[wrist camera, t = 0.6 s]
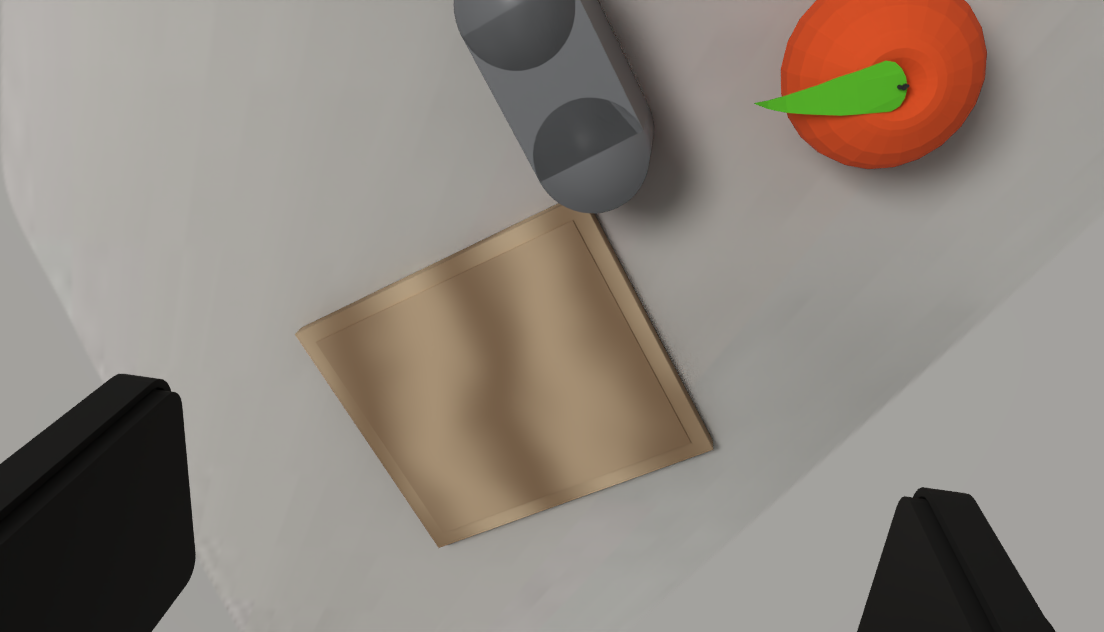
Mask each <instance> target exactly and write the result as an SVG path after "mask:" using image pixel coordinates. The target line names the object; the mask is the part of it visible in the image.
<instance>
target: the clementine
mask: <svg viewBox="0 0 1104 632" xmlns="http://www.w3.org/2000/svg"><path fill="white" fill-rule="evenodd" d="M986 57H987V51H986V46H985V41H984V36H983V31H982V27H981V25H980V23H979V22H978V20H977V18H976V16H975V14H974V12H973V11H972V9H971V7H970V5H969V4H968V3H967V2H966V1H965V0H816V1H815V2H814V4H813V5H812V6H811V7H810V8H809V9H808V10H807V11H806V13H805V14H804V15H803V16H802V17H801V18H800V20H799V21H798V23H797V25H796V27H795V29H794V31H793V33H792V35H791V37H790V38H789V40H788V43H787V47H786V51H785V55H784V59H783V63H782V67H781V95H782V97H779V98H775V99H772V100H769V101H763V102H758V103H754V104H757V105H759V106H762V107H764V108H767V109H770V110H775V111H781V112H786V113H787V115H788V118H789V119H790V121H791V122H792V124H793V126H794V127H795V129H796V130H797V132H798V134H799V135H800V137H801V138H803V139H804V140H805V141H806V142H807V143H808V144H809V145H811V146H812V147H813V148H814V149H815V150H816V151H817V152H819V153H821V154H823V155H825V156H827V157H829V158H831V159H834V160H836V161H838V162H840V163H842V164H844V165H849V166H854V167H860V168H866V169H876V168H888V167H896V166H899V165H902V164H905V163H908V162H911V161H914V160H917V159H920V158H921V157H923V156H925V155H926V154H928V153H930V152H931V151H933V150H935V149H936V148H938V147H940V146H941V145H942V144H943V143H944V142H945V141H947V140H948V139H949V138H950V137H951V136H952V135H953V134H954V133H955V132H956V131H957V130H958V129H959V128H960V127H961V126H962V124H963V123H964V121H965V120H966V118H967V117H968V115H969V114H970V112H971V111H972V109H973V108H974V106H975V104H976V102H977V99H978V96H979V94H980V91H981V88H982V85H983V82H984V79H985V69H986Z"/></svg>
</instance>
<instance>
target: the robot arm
mask: <svg viewBox="0 0 1104 632" xmlns="http://www.w3.org/2000/svg"><path fill="white" fill-rule="evenodd" d="M194 565H195V543H194V532H193V521H192V509H191V498H190V487H189V476H188V465H187V454H186V443H185V432H184V420H183V409H182V402H181V398H180V396H179V394H177V393H176V392H171V389H170V387H169V385H168V383H167V382H166V381H164V380H163V379H156V378H149V377H142V376H135V375H128V374H117V375H116V376H114V377H112V378H111V379H109V380H108V381H107V382H106V383H104V384H103V385H102V386H100V387H99V388H98V389H97V390H95V391H94V392H93V393H91V394H90V395H89V396H87V397H86V398H85V399H84V400H82V401H81V402H80V403H78V404H77V405H76V406H75V407H73V408H72V409H71V410H69V411H68V412H67V413H66V414H64V415H63V416H62V417H60V418H59V419H58V420H56V421H55V422H54V423H53V424H51V425H50V426H49V427H47V428H46V429H45V430H44V431H42V432H41V433H40V434H39V435H37V436H36V437H35V438H33V439H32V440H31V441H29V442H28V443H27V444H26V445H24V446H23V447H22V448H21V449H19V450H18V451H17V452H15V453H14V454H13V455H11V456H10V457H9V458H7V459H6V460H5V461H4V462H2V463H1V464H0V632H152V630H153V629H154V628H155V626H156V625H157V624H158V622H159V621H160V620H161V618H162V617H163V616H164V614H165V613H166V612H167V610H168V609H169V608H170V606H171V605H172V604H173V602H174V601H175V599H176V598H177V597H178V596H179V594H180V593H181V591H182V590H183V589H184V587H185V586H186V585H187V583H188V581H189V580H190V577H191V575H192V572H193V569H194ZM857 632H1055V630H1054V629H1053V627H1052V625H1051V624H1050V623H1049V622H1048V620H1047V619H1046V618H1045V617H1044V615H1043V613H1042V612H1041V610H1040V608H1039V607H1038V605H1037V603H1036V602H1035V600H1034V598H1033V597H1032V595H1031V593H1030V592H1029V590H1028V588H1027V586H1026V585H1025V583H1024V582H1023V580H1022V578H1021V577H1020V575H1019V573H1018V571H1017V570H1016V568H1015V566H1014V565H1013V563H1012V562H1011V560H1010V558H1009V556H1008V555H1007V553H1006V551H1005V550H1004V548H1003V546H1002V545H1001V543H1000V541H999V540H998V538H997V536H996V535H995V533H994V531H993V530H992V528H991V526H990V525H989V523H988V521H987V519H986V518H985V516H984V515H983V513H982V511H981V509H980V508H979V506H978V504H977V503H976V501H975V500H974V498H973V497H972V496H971V495H969V494H966V493H959V492H952V491H945V490H938V489H931V488H924V487H922V488H920V489H918V490H917V491H916V493H915V494H914V496H913V498H911V497H902V498H901V499H900V501H899V503H898V505H897V507H896V510H895V514H894V517H893V520H892V523H891V526H890V529H889V533H888V536H887V539H886V542H885V546H884V548H883V552H882V555H881V558H880V561H879V564H878V567H877V571H876V574H875V577H874V580H873V583H872V586H871V590H870V593H869V596H868V599H867V602H866V605H865V608H864V612H863V615H862V618H861V621H860V624H859V628H858V631H857Z"/></svg>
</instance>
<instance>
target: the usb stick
mask: <svg viewBox="0 0 1104 632" xmlns="http://www.w3.org/2000/svg"><path fill="white" fill-rule="evenodd" d="M454 14H455V19H456V23H457V26H458V29H459V31H460V34H461V36H462V38H463V40H464V41H465V43H466V45H467V47H468V49H469V51H470V53H471V54H472V56H473V58H474V60H475V62H476V64H477V66H478V68H479V69H480V71H481V73H482V75H483V77H484V79H485V81H486V82H487V84H488V86H489V88H490V90H491V92H492V94H493V95H494V97H495V99H496V101H497V103H498V105H499V107H500V109H501V110H502V112H503V114H504V116H505V118H506V120H507V122H508V123H509V125H510V127H511V129H512V131H513V133H514V135H515V136H516V138H517V140H518V142H519V144H520V146H521V148H522V149H523V151H524V153H525V155H526V157H527V159H528V161H529V163H530V164H531V166H532V168H533V170H534V172H535V174H536V176H537V177H538V179H539V181H540V183H541V185H542V186H543V188H544V189H545V190H546V192H547V193H548V194H549V195H550V196H551V197H552V198H553V199H554V200H555V201H557V202H558V203H559V204H561V205H563V206H565V207H566V208H569V209H571V210H574V211H578V212H582V213H603V212H607V211H610V210H613V209H615V208H618V207H619V206H621V205H623V204H624V203H626V202H627V201H629V200H630V199H631V198H632V197H633V196H634V195H635V194H636V192H637V191H638V190H639V189H640V187H641V185H642V184H643V182H644V179H645V177H646V174H647V171H648V167H649V161H650V155H651V149H652V143H653V137H654V122H653V117H652V113H651V111H650V108H649V106H648V104H647V102H646V100H645V98H644V96H643V94H642V92H641V89H640V87H639V85H638V83H637V81H636V79H635V77H634V75H633V73H632V71H631V69H630V66H629V64H628V62H627V60H626V58H625V56H624V54H623V52H622V50H621V48H620V46H619V44H618V41H617V39H616V37H615V35H614V33H613V31H612V29H611V27H610V25H609V23H608V21H607V19H606V16H605V14H604V12H603V10H602V8H601V6H600V4H599V2H598V0H454Z"/></svg>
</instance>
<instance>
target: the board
mask: <svg viewBox="0 0 1104 632" xmlns="http://www.w3.org/2000/svg"><path fill="white" fill-rule="evenodd" d="M295 335H296V337H297V338H298V340H299V341H300V343H301V344H302V346H303V347H304V349H305V350H306V352H307V353H308V355H309V356H310V357H311V359H312V360H313V362H314V363H315V365H316V366H317V368H318V369H319V371H320V372H321V374H322V375H323V377H324V378H325V380H326V381H327V383H328V384H329V386H330V387H331V389H332V390H333V392H334V393H335V395H336V396H337V398H338V399H339V401H340V402H341V403H342V405H343V406H344V408H345V409H346V411H347V412H348V414H349V415H350V417H351V418H352V420H353V421H354V423H355V424H356V426H357V427H358V429H359V430H360V432H361V433H362V435H363V436H364V438H365V439H366V441H367V442H368V444H369V445H370V447H371V448H372V449H373V451H374V452H375V454H376V455H377V457H378V458H379V460H380V461H381V463H382V464H383V466H384V467H385V469H386V470H387V472H388V473H389V475H390V476H391V478H392V479H393V481H394V482H395V484H396V485H397V487H398V488H399V490H400V491H401V493H402V494H403V495H404V497H405V498H406V500H407V501H408V503H409V504H410V506H411V507H412V509H413V510H414V512H415V513H416V515H417V516H418V518H419V519H420V521H421V522H422V524H423V525H424V527H425V528H426V530H427V531H428V533H429V534H430V536H431V537H432V539H433V540H434V541H435V543H436V544H437V546H438V547H439V548H440V547H443V546H445V545H448V544H451V543H454V542H457V541H459V540H462V539H465V538H468V537H471V536H473V535H476V534H479V533H482V532H485V531H487V530H490V529H493V528H496V527H498V526H501V525H504V524H507V523H510V522H512V521H515V520H518V519H521V518H524V517H526V516H529V515H532V514H535V513H538V512H540V511H543V510H546V509H549V508H552V507H554V506H557V505H560V504H563V503H566V502H568V501H571V500H574V499H577V498H580V497H582V496H585V495H588V494H591V493H593V492H596V491H599V490H602V489H605V488H607V487H610V486H613V485H616V484H619V483H621V482H624V481H627V480H630V479H633V478H635V477H638V476H641V475H644V474H647V473H649V472H652V471H655V470H658V469H661V468H663V467H666V466H669V465H672V464H675V463H677V462H680V461H683V460H686V459H688V458H691V457H694V456H697V455H700V454H702V453H705V452H708V451H711V450H713V440H712V438H711V436H710V434H709V433H708V431H707V429H706V427H705V425H704V423H703V421H702V419H701V417H700V415H699V413H698V411H697V410H696V408H695V406H694V404H693V402H692V400H691V398H690V396H689V394H688V392H687V390H686V388H685V387H684V385H683V383H682V381H681V379H680V377H679V375H678V373H677V371H676V369H675V367H674V365H673V364H672V362H671V360H670V358H669V356H668V354H667V352H666V350H665V348H664V346H663V344H662V342H661V341H660V339H659V337H658V335H657V333H656V331H655V329H654V327H653V325H652V323H651V321H650V319H649V318H648V316H647V314H646V312H645V310H644V308H643V306H642V304H641V302H640V300H639V298H638V296H637V295H636V293H635V291H634V289H633V287H632V285H631V283H630V281H629V279H628V277H627V275H626V273H625V272H624V270H623V268H622V266H621V264H620V262H619V260H618V258H617V256H616V254H615V252H614V250H613V249H612V247H611V245H610V243H609V241H608V239H607V237H606V235H605V233H604V231H603V229H602V227H601V226H600V224H599V222H598V220H597V218H596V216H595V214H594V213H582V212H578V211H574V210H571V209H569V208H566V207H565V206H563V205H561V204H559V203H558V204H556V205H554V206H552V207H550V208H548V209H546V210H544V211H542V212H539V213H537V214H535V215H533V216H531V217H529V218H527V219H525V220H523V221H521V222H519V223H517V224H515V225H513V226H511V227H508V228H506V229H504V230H502V231H500V232H498V233H496V234H494V235H492V236H490V237H488V238H486V239H484V240H482V241H480V242H477V243H475V244H473V245H471V246H469V247H467V248H465V249H463V250H461V251H459V252H457V253H455V254H453V255H451V256H449V257H446V258H444V259H442V260H440V261H438V262H436V263H434V264H432V265H430V266H428V267H426V268H424V269H422V270H420V271H418V272H415V273H413V274H411V275H409V276H407V277H405V278H403V279H401V280H399V281H397V282H395V283H393V284H391V285H389V286H387V287H384V288H382V289H380V290H378V291H376V292H374V293H372V294H370V295H368V296H366V297H364V298H362V299H360V300H358V301H356V302H354V303H351V304H349V305H347V306H345V307H343V308H341V309H339V310H337V311H335V312H333V313H331V314H329V315H327V316H325V317H323V318H320V319H318V320H316V321H314V322H312V323H310V324H308V325H306V326H304V327H302V328H301V329H300V330H299V331H298V332H297V333H296V334H295Z"/></svg>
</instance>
